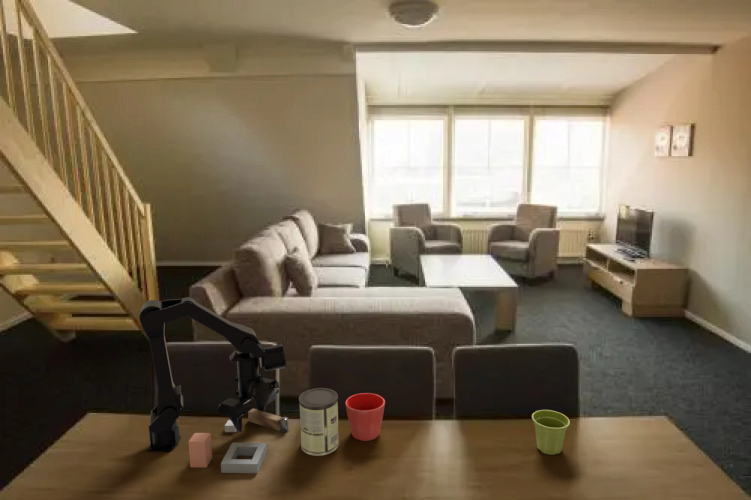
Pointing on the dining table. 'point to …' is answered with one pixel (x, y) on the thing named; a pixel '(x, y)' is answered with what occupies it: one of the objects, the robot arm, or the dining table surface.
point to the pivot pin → (284, 424)
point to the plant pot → (550, 430)
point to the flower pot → (365, 415)
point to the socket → (244, 465)
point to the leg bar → (264, 419)
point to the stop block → (230, 427)
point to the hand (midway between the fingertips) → (250, 423)
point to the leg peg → (200, 450)
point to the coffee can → (319, 421)
